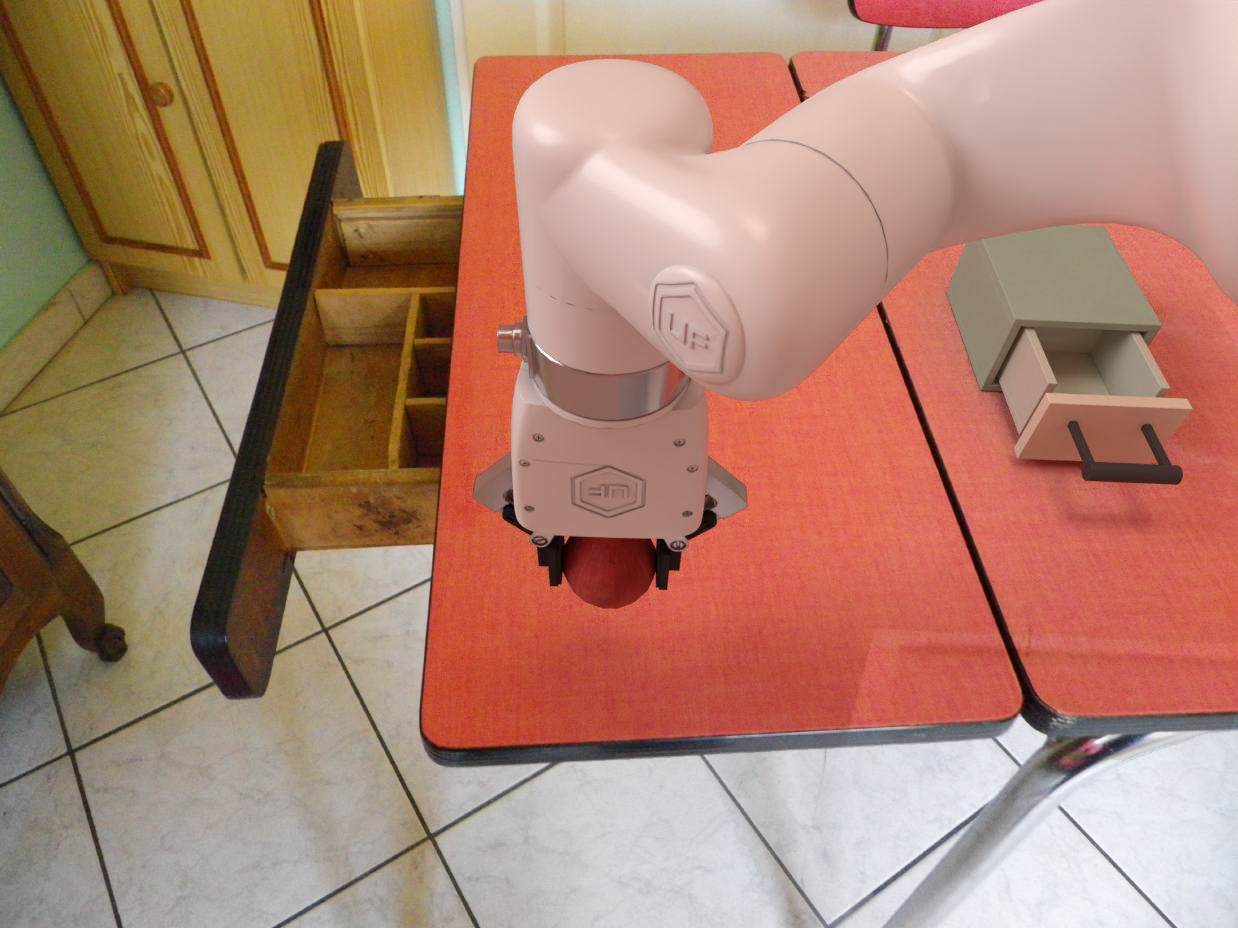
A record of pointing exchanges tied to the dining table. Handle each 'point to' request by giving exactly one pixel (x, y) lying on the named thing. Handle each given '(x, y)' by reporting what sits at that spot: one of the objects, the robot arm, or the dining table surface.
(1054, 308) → the cabinet
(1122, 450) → the drawer
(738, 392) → the robot arm
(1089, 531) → the dining table surface
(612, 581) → the onion
